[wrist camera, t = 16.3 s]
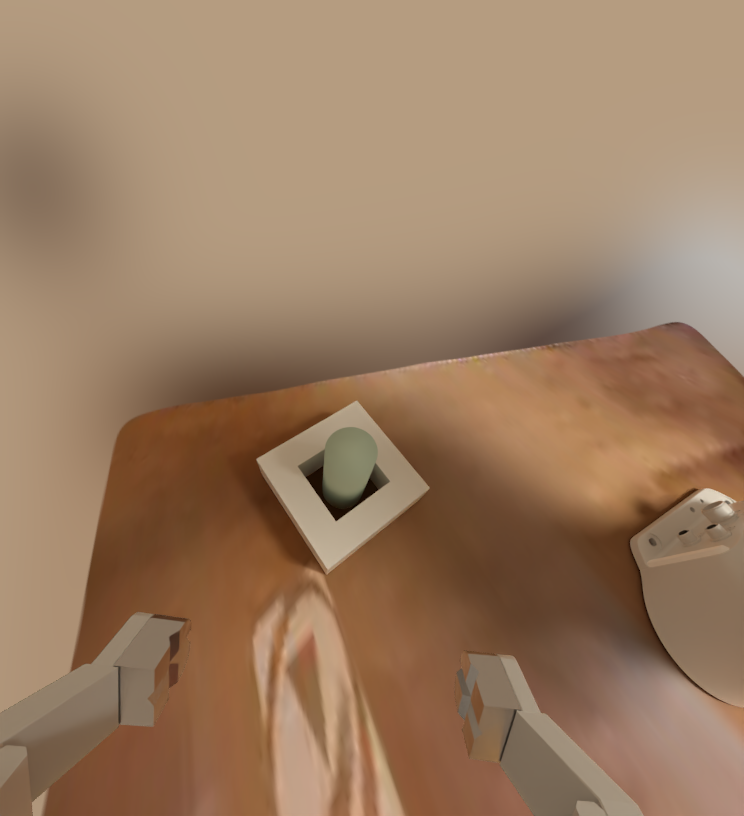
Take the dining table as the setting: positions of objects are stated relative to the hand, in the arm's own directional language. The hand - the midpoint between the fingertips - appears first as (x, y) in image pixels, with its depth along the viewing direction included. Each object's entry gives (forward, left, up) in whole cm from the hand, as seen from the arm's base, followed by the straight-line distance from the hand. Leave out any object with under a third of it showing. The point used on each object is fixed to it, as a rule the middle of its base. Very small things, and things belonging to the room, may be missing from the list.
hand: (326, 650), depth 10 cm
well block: (-9, -9, -24) cm, 27 cm away
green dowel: (-9, -9, -24) cm, 27 cm away
